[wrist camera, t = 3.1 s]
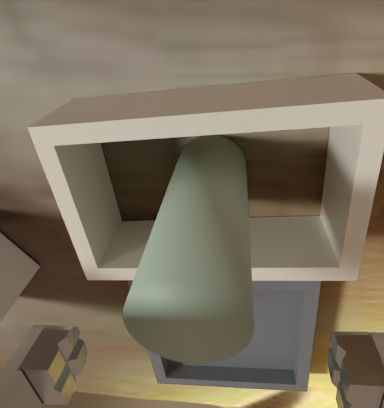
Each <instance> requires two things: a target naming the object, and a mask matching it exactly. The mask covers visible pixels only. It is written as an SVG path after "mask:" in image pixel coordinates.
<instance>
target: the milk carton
mask: <svg viewBox="0 0 384 408" xmlns="http://www.w3.org/2000/svg"><path fill="white" fill-rule="evenodd" d="M39 268H40V266H39V265H38V264H37V263H36V262H35V261H33V260H32V259H31V258H30V257H29V256H28V255H26V254H25V253H24V252H23V251H22V250H20V249H19V248H18V247H17V246H16V245H15V244H13V243H12V242H11V241H10V240H9V239H7V238H6V237H5V236H4V235H3V234H1V233H0V321H1V320H2V319H3V317H4V316H5V315H6V313H7V312H8V310H9V309H10V308H11V306H12V305H13V304H14V302H15V301H16V300H17V298H18V297H19V295H20V294H21V293H22V291H23V290H24V289H25V287H26V286H27V284H28V283H29V282H30V280H31V279H32V278H33V276H34V275H35V273H36V272H37V271H38V269H39Z"/></svg>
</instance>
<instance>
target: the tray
mask: <svg viewBox="0 0 384 408" xmlns="http://www.w3.org/2000/svg"><path fill="white" fill-rule="evenodd" d="M126 281H127V284H128V287H129V291H130V288H131V285H132V283H133V280H126ZM320 286H321V281H252V290H253V310H254V333H253V337H252V339H251V341H250V343H249V344H248V345H247V347H246V348H245V349H244V350H242V351H241V352H240V353H238V354H237V355H235V356H233V357H231V358H229V359H226V360H223V361H219V362H214V363H206V364H192V363H183V362H178V361H174V360H170V359H167V358H164V357H161V356H159V355H157V354H155V353H153V352H151V351H149V350H148V349H147V350H148V353H149V356H150V359H151V363H152V366H153V369H154V373H155V376H156V379H157V382H158V383H162V384H180V385H198V386H216V387H234V388H252V389H271V390H289V391H307V387H308V380H309V372H310V364H311V356H312V348H313V341H314V333H315V325H316V317H317V309H318V302H319V294H320Z"/></svg>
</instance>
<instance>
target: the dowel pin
mask: <svg viewBox="0 0 384 408" xmlns="http://www.w3.org/2000/svg"><path fill="white" fill-rule="evenodd" d="M123 319H124V323H125V326H126V328H127V330H128V331H129V333H130V334H131V336H132V337H133V338H134V339H135V340H136V341H137V342H138V343H139V344H141V345H142V346H143V347H144V348H146V349H148V350H149V351H151V352H153V353H155V354H157V355H159V356H161V357H164V358H167V359H170V360H174V361H178V362H183V363H192V364H206V363H214V362H219V361H223V360H226V359H229V358H231V357H233V356H235V355H237V354H238V353H240V352H241V351H242V350H244V349H245V348H246V347H247V345H248V344H249V343H250V341H251V339H252V337H253V333H254V310H253V290H252V270H251V250H250V230H249V210H248V189H247V169H246V160H245V156H244V154H243V152H242V150H241V149H240V148H239V146H238V145H237V144H235V143H234V142H233V141H232V140H230V139H228V138H226V137H223V136H220V135H204V136H199V137H197V138H195V139H193V140H191V141H190V142H189V143H187V144H186V145H185V147H184V148H183V149H182V151H181V153H180V155H179V158H178V161H177V164H176V166H175V169H174V172H173V174H172V177H171V180H170V182H169V185H168V188H167V191H166V193H165V196H164V199H163V201H162V204H161V207H160V210H159V212H158V215H157V218H156V220H155V223H154V226H153V228H152V231H151V234H150V237H149V239H148V242H147V245H146V247H145V250H144V253H143V256H142V258H141V261H140V264H139V266H138V269H137V272H136V274H135V277H134V280H133V283H132V285H131V288H130V291H129V293H128V296H127V299H126V302H125V304H124V308H123Z"/></svg>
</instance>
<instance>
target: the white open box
mask: <svg viewBox="0 0 384 408" xmlns="http://www.w3.org/2000/svg"><path fill="white" fill-rule="evenodd" d="M319 127H330V132H329V142H328V151H327V160H326V169H325V178H324V187H323V196H322V205H321V214H320V216H292V217H256V218H249V230H250V250H251V270H252V281H357V278H358V273H359V268H360V263H361V258H362V253H363V249H364V244H365V239H366V234H367V229H368V225H369V220H370V215H371V210H372V205H373V200H374V196H375V191H376V186H377V181H378V176H379V172H380V167H381V162H382V157H383V152H384V91H383V90H382V89H380V88H379V87H377V86H376V85H374V84H372V83H371V82H369V81H368V80H366V79H365V78H363V77H362V76H360V75H359V74H357V73H350V74H339V75H329V76H318V77H307V78H296V79H286V80H275V81H264V82H254V83H243V84H232V85H221V86H211V87H200V88H189V89H179V90H168V91H157V92H146V93H136V94H125V95H114V96H104V97H93V98H82V99H72V100H71V101H69V102H67V103H66V104H64V105H62V106H61V107H59V108H58V109H56V110H54V111H53V112H51V113H50V114H48V115H46V116H45V117H43V118H42V119H40V120H38V121H37V122H35V123H34V124H32V125H30V126H29V127H27V128H28V131H29V133H30V136H31V138H32V141H33V143H34V146H35V148H36V151H37V154H38V156H39V159H40V161H41V164H42V166H43V169H44V171H45V174H46V176H47V179H48V182H49V184H50V187H51V189H52V192H53V194H54V197H55V199H56V202H57V205H58V207H59V210H60V212H61V215H62V217H63V220H64V222H65V225H66V227H67V230H68V233H69V235H70V238H71V240H72V243H73V245H74V248H75V250H76V253H77V256H78V258H79V261H80V263H81V266H82V268H83V271H84V273H85V276H86V278H87V280H134V277H135V274H136V272H137V269H138V266H139V264H140V261H141V258H142V256H143V253H144V250H145V247H146V245H147V242H148V239H149V237H150V234H151V231H152V228H153V226H154V223H155V220H148V221H122V219H121V216H120V212H119V208H118V205H117V201H116V198H115V194H114V190H113V187H112V183H111V180H110V176H109V172H108V169H107V165H106V162H105V158H104V154H103V151H102V147H101V144H100V143H103V142H117V141H132V140H146V139H161V138H175V137H190V136H204V135H218V134H233V133H247V132H262V131H276V130H291V129H305V128H319Z"/></svg>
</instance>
